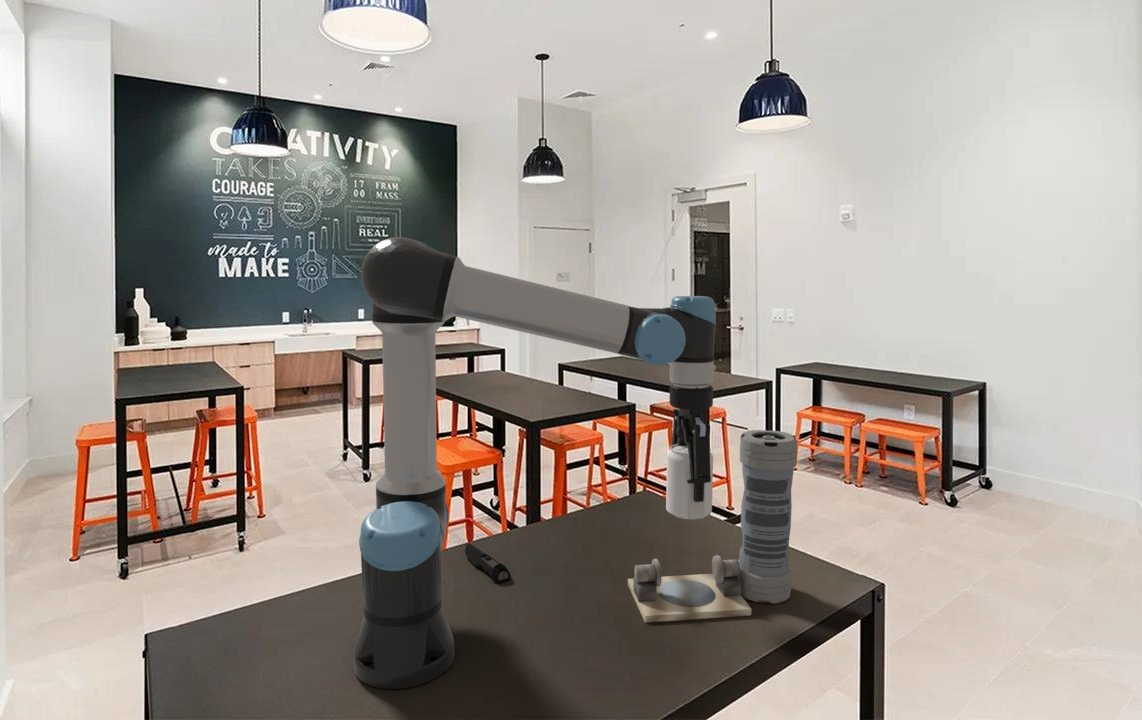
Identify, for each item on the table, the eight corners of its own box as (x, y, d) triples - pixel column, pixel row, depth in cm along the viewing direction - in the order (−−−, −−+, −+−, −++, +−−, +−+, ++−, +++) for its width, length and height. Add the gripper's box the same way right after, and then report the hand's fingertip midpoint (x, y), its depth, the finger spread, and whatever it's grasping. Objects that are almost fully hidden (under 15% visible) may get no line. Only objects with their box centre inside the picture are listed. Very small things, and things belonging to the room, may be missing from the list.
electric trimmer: (477, 554, 143) (476, 540, 142) (512, 581, 130) (512, 565, 130) (460, 558, 141) (460, 544, 140) (495, 586, 128) (495, 570, 128)
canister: (793, 607, 119) (801, 444, 115) (736, 602, 121) (741, 441, 117) (787, 582, 129) (794, 430, 125) (733, 577, 131) (739, 428, 127)
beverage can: (720, 512, 120) (722, 447, 119) (695, 524, 114) (697, 457, 113) (682, 502, 126) (683, 440, 124) (657, 513, 120) (658, 448, 118)
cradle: (645, 622, 114) (645, 578, 113) (627, 584, 128) (628, 545, 127) (751, 615, 117) (752, 572, 116) (723, 578, 130) (724, 540, 129)
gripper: (734, 394, 107) (729, 530, 110) (693, 374, 128) (691, 489, 131) (688, 396, 106) (685, 532, 109) (655, 375, 127) (653, 491, 130)
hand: (688, 508), depth 120 cm, fingers closed on beverage can, 8 cm apart
